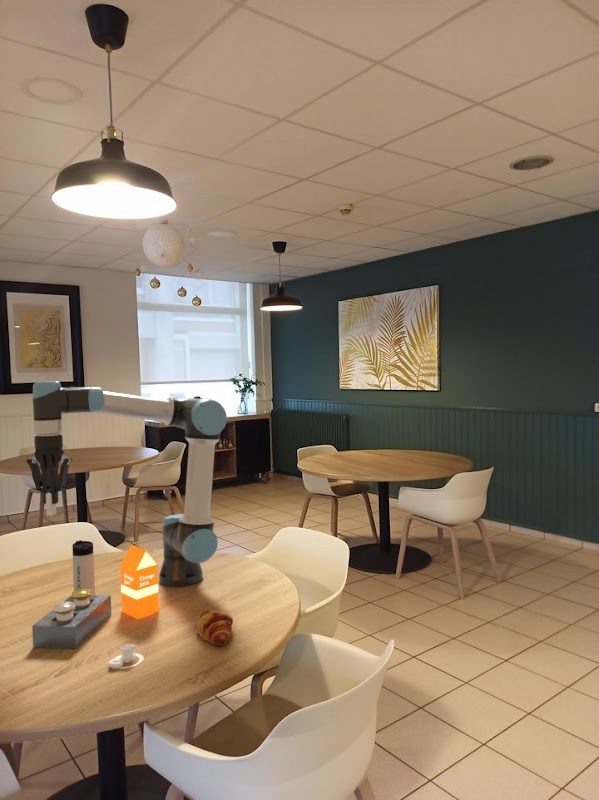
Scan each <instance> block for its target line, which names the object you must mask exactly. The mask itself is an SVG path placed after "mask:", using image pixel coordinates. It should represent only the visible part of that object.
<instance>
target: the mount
mask: <svg viewBox="0 0 599 800" xmlns="http://www.w3.org/2000/svg"><path fill="white" fill-rule="evenodd" d="M111 597H112V596H111V595H110V594H95V595H91V596H90V604H89V605H88V606H75V609H74V610H73V616H74V618H72V619H71V620H70V621H56V613H55V612H54V608H53V609H52V610H51V611H50V612H48V613H46V615H44V616H43V617H41V619H39V620H38V621H37V622H35V623H34V624H33V625H32V626H31V630H32V648H33V649H34V648H35V649H36V648H37V649H59V650H60V649H62V650H64V649H66V650H76V649H78V647H80V645H82V644H83V642H85V641H86V640H87V639H88V638H89V637H90V636H91V635H92V634H93V633H94V632H95V631H96V630H97V629H98V628H100V626H102V624H103V623H104V622H105V621H106V620H108V618H109V617H111V616H112V598H111ZM63 602H74V598H72V595H71V596H69V597H67V599H65V600H63Z"/></svg>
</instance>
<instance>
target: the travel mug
mask: <svg viewBox="0 0 599 800" xmlns="http://www.w3.org/2000/svg"><path fill="white" fill-rule="evenodd" d="M71 547H72V548H71V549H72V572H73V573H72V574H73V575H72V578H73V579H72V580H73V591H75V590H78V589H84V588H88V589H91V590H92V595H96V587H95V586H96V583H95V582H96V581H95V559H94V558H95V554H94V543H93V542H91V541H89V540H82V539H81V540H75V542H74V543H73V544H72V546H71Z"/></svg>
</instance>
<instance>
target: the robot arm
mask: <svg viewBox="0 0 599 800" xmlns="http://www.w3.org/2000/svg"><path fill="white" fill-rule="evenodd" d="M31 399H32V409H33V410H32V412H33V434H35V436H34V449H35V451H34V455H33V456H31V457H30V458H27V459H26V463H27V464H28V466H29V468H30V471H31V476H32V478H33V479H32V480H33V482H34V486H35V490H36V491H37V492H41V493H42V495H43V496H42V497H43V498H42V499H43V504H44V505H45V508H46V517H52V516H55V515H57V504H58V503H59V492H60V491H63V490H64V489H65V488H66V483H67V477H68V472H69V467H70V464H71V463H72V461H73V459H72V457H71V456H70V457H68V456H67V455H65V452H64V450H63V443H64V441H63V440H64V439H63V435H62V434H61V433H63V417H62V416H63V414H70V413H71V414H73V413H77V414H78V413H92V414H98V415H106V416H116V417H122V418H128V419H129V418H131V419H139V420H145V421H146V420H147V421H152V422H153V421H154V422H161V423H163V424H164V425H165V426H169V427H176V428H180V429H183V430H185V432H184V439H185V440H186V441H187V442H188V455H187V456H188V457H187V468H186V469H187V470H186V483H185V484H186V485H185V496H184V499H185V500H184V509H183V511H184V512H183V513H179V514H178V513H177V514H171V515H168V516H165V517H164V518H163V520H162V526H161V527H162V540H163V541H162V543H163V561H162V564H161V568H160V571H159V574H158V575H159V577H158V582H159V583H160V584H161V585H163V586H167V587H184V586H189V585H194V584H196V583H198V582H200V581H201V580H202V579H203V578H204V576H203V574H204V573H203V569H202V566H201V564H202V563H205V562H207V561H209V560H210V559H211V558H212V557H213V556H214V555H215V553H216V552H217V549H218V543H219V542H218V537H217V535H216V533H215V532H214V527H215V526H214V525H215V520H214V519H213V517H212V516H211V504H212V489H213V478H214V475H213V474H214V463H215V462H214V461H215V450H216V448H215V447H216V444H217V443H219V442H220V440H221V432H222V431H223V430H224V429H225V427H226V425H227V422H228V421H227V420H228V418H227V417H228V416H227V413H226V409H225V408H224V406H223V405H222V404H221V403H219V402H218V401H216V400H213V399H211V398H197V397H191V398H190V397H189V398H175V397H168V398H167V399H162V398H161V399H159V398H153V397H148V396H147V397H146V396H139V395H133V394H132V395H131V394H126V393H118V392H111V391H104V390H103V389H102V388H101V387H100V386H99V387H98V386H83V387H81V386H79V387H78V386H68V387H62V384H61V382H60V381H36V382H34V383H33V385H32V398H31ZM60 462H61V465H60V466H59V464H60Z"/></svg>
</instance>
